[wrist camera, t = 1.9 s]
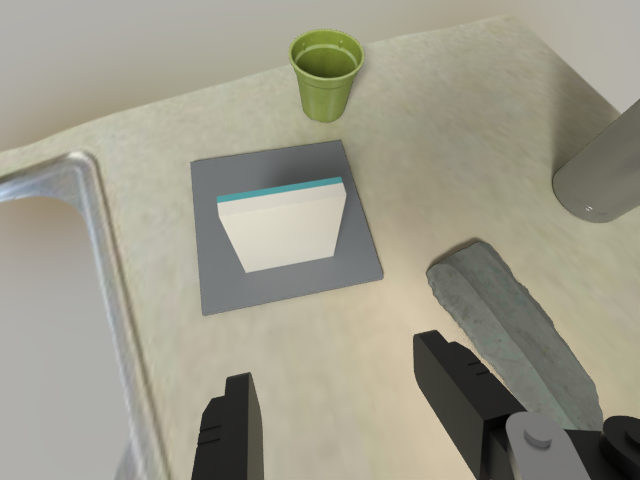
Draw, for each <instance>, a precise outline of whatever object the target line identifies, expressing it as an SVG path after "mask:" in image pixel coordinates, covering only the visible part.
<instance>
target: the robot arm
mask: <svg viewBox="0 0 640 480" xmlns="http://www.w3.org/2000/svg"><path fill="white" fill-rule="evenodd" d="M553 188H554V191H555V194H556V196H557V198H558V200H559V201H560V202H561V203H562V205H563V206H564V207H565V208H566V209H568V210H569V211H570V212H571V213H573V214H574V215H576V216H578V217H580V218H582V219H584V220H587V221H591V222H597V223H604V222H609V221H613V220H614V219H616V218H618V217H620V216H622V215H623V214H625V213H627V212H629V211H631V210H632V209H634V208H636V207H638V206H640V99H639V100H638V101H637V102H636V103H635V104H634V105H632V106H631V107H630V108H629V109H628V110H626V111H625V112H624V113H623V114H622V115H621V116H620V117H618V118H617V119H616V120H615V121H614V122H613V123H612V124H610V125H609V126H608V127H607V128H606V129H605V130H604V131H602V132H601V133H600V134H599V135H598V136H597V137H596V138H594V139H593V140H592V141H591V142H590V143H589V144H588V145H586V146H585V147H584V148H583V149H582V150H581V151H579V152H578V153H577V154H576V155H575V156H574V157H573V158H571V159H570V160H569V161H568V162H567V163H566V164H565V165H564V166H562V167H561V168H560V169H559V170H558V171H557V172H556V174H555V175H554V179H553ZM413 356H414V373H415V378H416V381H417V383H418V386H419V388H420V389H421V391H422V393H423V394H424V396H425V397H426V399H427V401H428V402H429V404H430V406H431V407H432V409H433V410H434V412H435V414H436V415H437V417H438V418H439V420H440V422H441V423H442V425H443V426H444V428H445V430H446V431H447V433H448V435H449V436H450V438H451V439H452V441H453V443H454V444H455V446H456V447H457V449H458V451H459V452H460V454H461V455H462V457H463V459H464V460H465V462H466V464H467V465H468V467H469V468H470V470H471V472H472V473H473V475H474V476H475V478H476V480H640V419H637V418H634V417H629V416H612V417H610V418H608V419H606V420H605V422H604V424H603V428H602V431H589V430H570V429H563V428H562V427H560V426H559V425H558V424H557V423H556V422H554V421H553V420H551V419H549V418H547V417H545V416H543V415H540V414H537V413H533V412H528V411H527V410H526V409H525V408H524V407H523V406H522V404H521V403H520V402H519V401H518V400H517V399H516V398H515V397H514V396H513V395H512V394H511V393H510V392H509V391H508V390H507V389H506V387H505V386H504V385H503V384H502V383H501V382H500V381H499V380H498V379H497V378H496V377H495V376H494V375H493V374H492V373H490V371H489V369H488V368H487V367H486V366H485V365H484V364H483V363H481V361H480V360H479V359H478V358H477V357H476V356H475V355H474V354H473V352H472V351H471V350H470V349H468V348H466V347H464V346H463V345H461V344H459V343H457V342H455V341H454V342H450V343H448V342H447V341H446V340H445V339H444V337H443V336H442V335H441V334H440V333H439V332H438V331H437V330H432V331H427V332H423V333H419V334H415V335H414V336H413ZM197 445H198V447H197V449H196V455H195V461H194V466H193V472H192V478H191V480H264V463H263V430H262V418H261V411H260V406H259V402H258V398H257V394H256V390H255V386H254V382H253V378H252V375H251V373H250V372H248V373H243V374H239V375H235V376H230V377H227V379H226V387H225V396H221V397H216V398H212V399H211V401H210V402H209V404H208V406H207V407H206V409H205V411H204V412H203V414H202V420H201V426H200V433H199V437H198V443H197Z"/></svg>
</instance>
